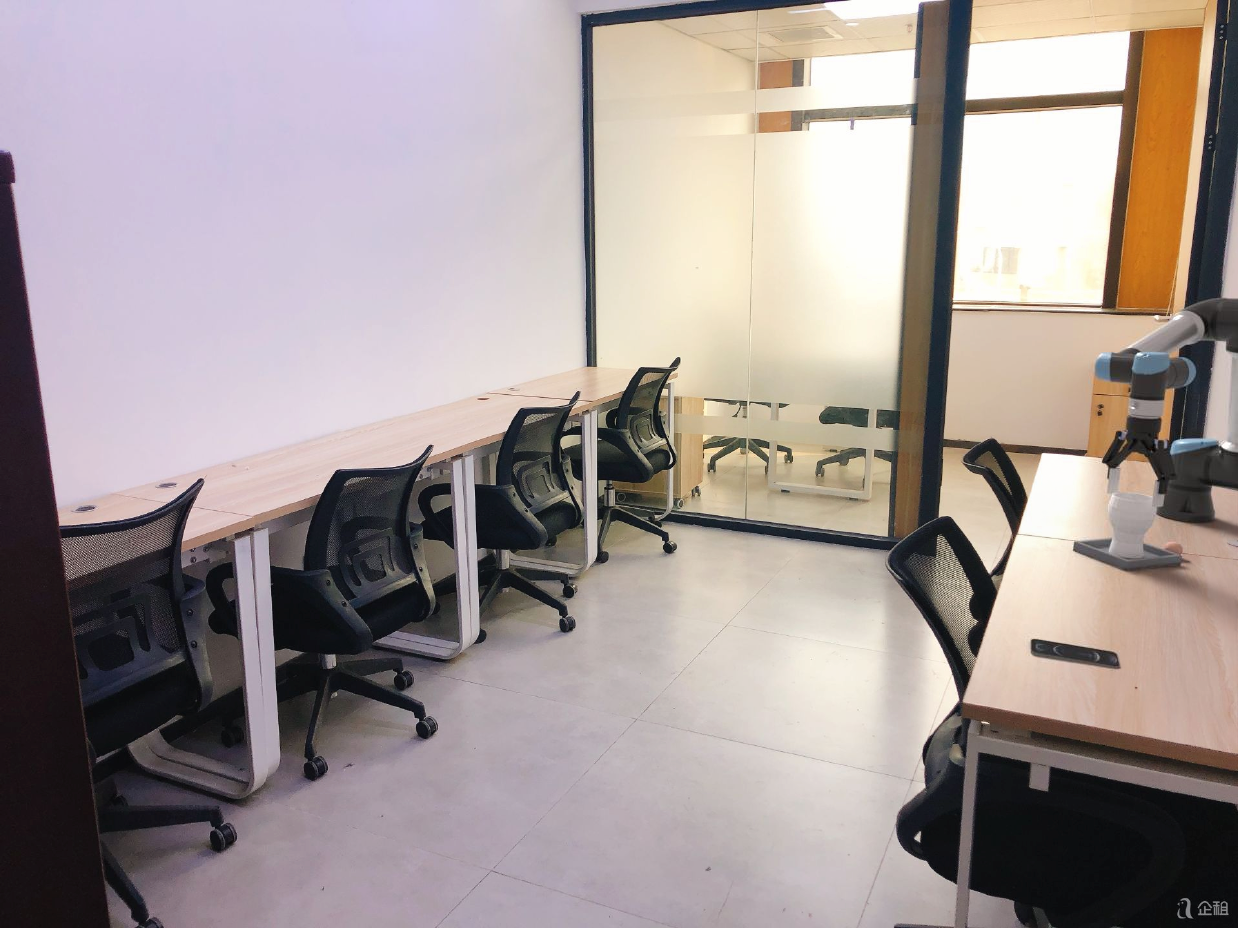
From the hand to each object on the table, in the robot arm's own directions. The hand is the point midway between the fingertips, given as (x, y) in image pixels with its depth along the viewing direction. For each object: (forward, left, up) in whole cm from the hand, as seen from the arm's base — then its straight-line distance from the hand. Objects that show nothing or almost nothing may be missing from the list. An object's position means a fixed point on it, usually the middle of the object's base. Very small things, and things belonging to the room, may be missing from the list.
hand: (1134, 499), depth 231 cm
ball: (-12, +3, -15) cm, 19 cm away
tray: (0, 0, -15) cm, 15 cm away
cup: (0, 0, -14) cm, 14 cm away
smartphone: (+59, +45, -16) cm, 76 cm away
